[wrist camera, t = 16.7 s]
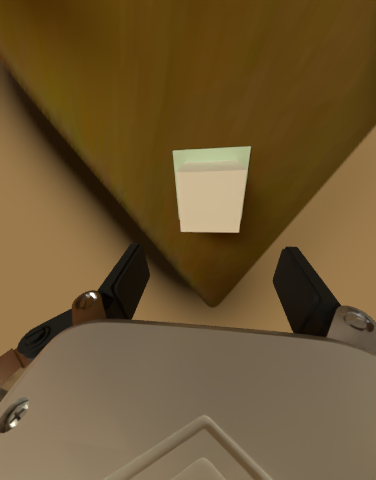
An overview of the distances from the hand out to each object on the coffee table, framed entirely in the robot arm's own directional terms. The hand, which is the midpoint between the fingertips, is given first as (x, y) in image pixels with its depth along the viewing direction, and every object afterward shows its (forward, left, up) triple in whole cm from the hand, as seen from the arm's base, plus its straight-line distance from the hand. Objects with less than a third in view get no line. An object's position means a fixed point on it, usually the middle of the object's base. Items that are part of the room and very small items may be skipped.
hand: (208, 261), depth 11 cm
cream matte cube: (0, 0, -18) cm, 18 cm away
